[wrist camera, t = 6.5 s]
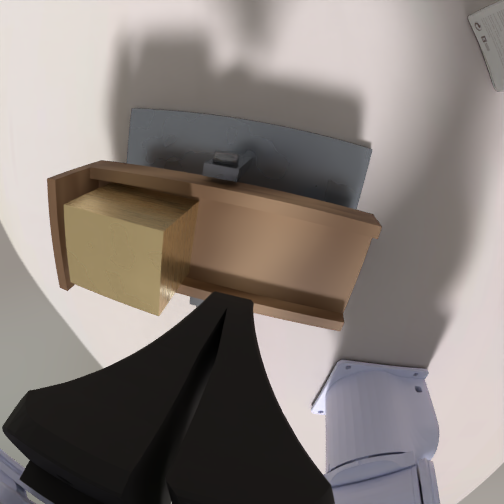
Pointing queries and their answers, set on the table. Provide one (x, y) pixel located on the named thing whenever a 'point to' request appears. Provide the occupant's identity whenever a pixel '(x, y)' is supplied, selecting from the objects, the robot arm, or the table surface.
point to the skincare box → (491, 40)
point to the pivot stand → (249, 154)
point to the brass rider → (130, 244)
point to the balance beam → (244, 240)
